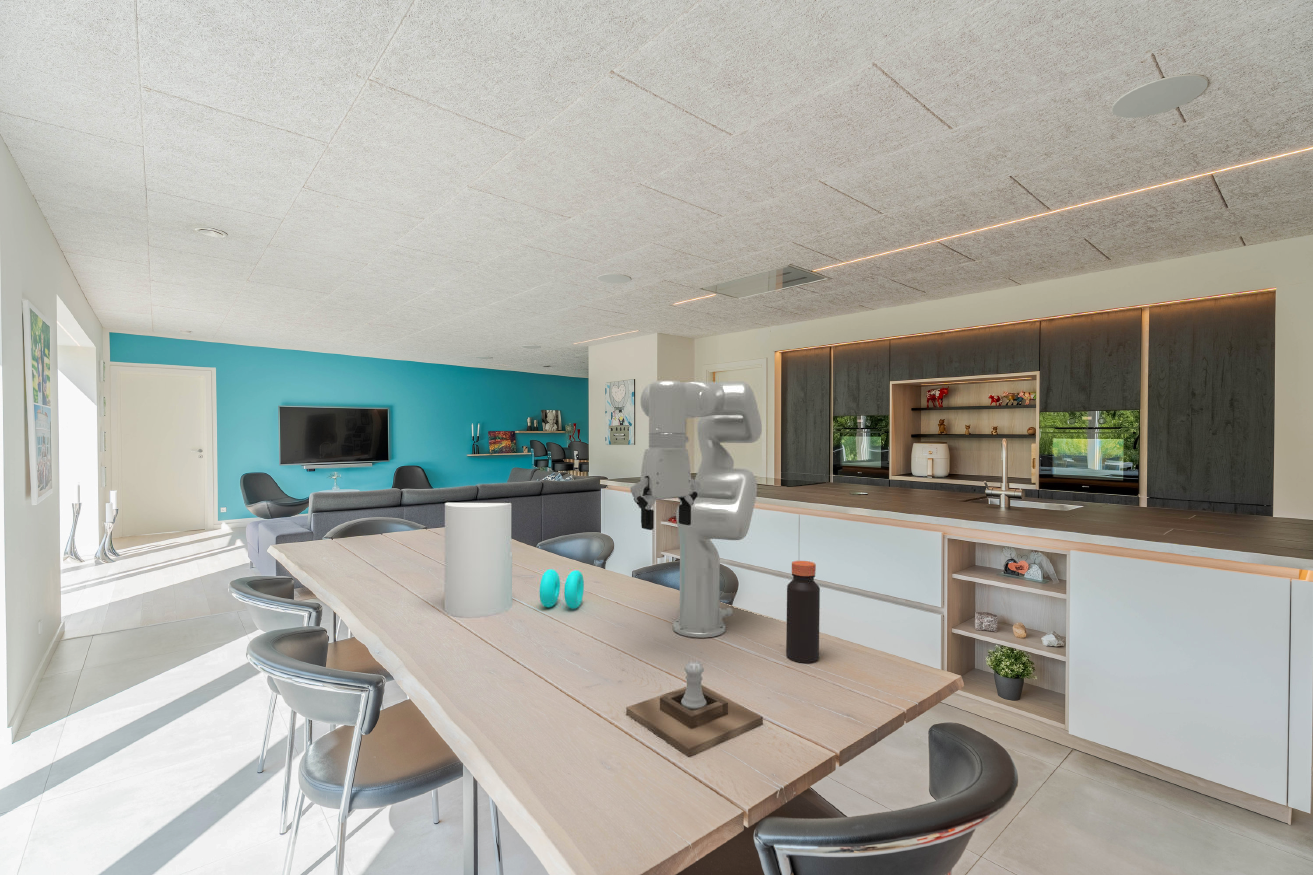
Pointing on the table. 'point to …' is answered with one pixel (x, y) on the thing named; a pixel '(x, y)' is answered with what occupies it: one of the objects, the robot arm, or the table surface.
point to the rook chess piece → (693, 687)
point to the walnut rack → (694, 720)
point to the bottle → (803, 614)
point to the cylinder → (477, 559)
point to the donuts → (552, 588)
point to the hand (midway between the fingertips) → (666, 526)
